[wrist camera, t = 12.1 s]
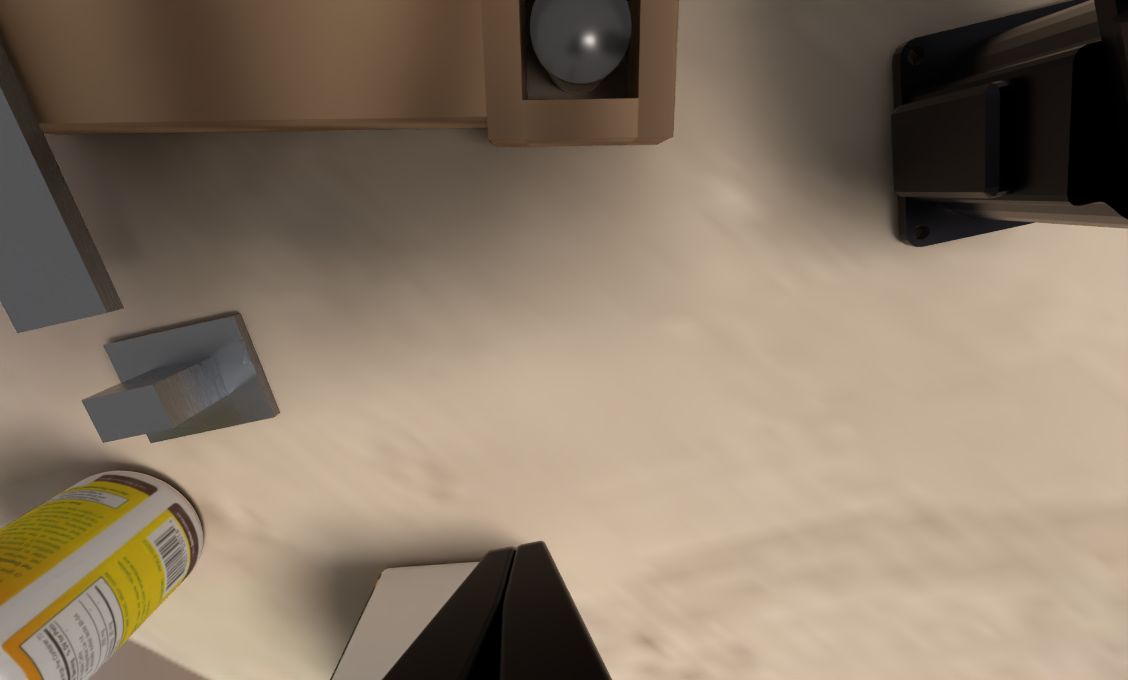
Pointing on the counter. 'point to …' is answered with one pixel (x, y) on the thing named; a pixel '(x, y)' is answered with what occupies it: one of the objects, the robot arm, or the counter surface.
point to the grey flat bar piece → (110, 302)
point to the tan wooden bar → (321, 69)
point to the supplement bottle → (90, 572)
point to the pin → (580, 40)
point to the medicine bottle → (397, 617)
